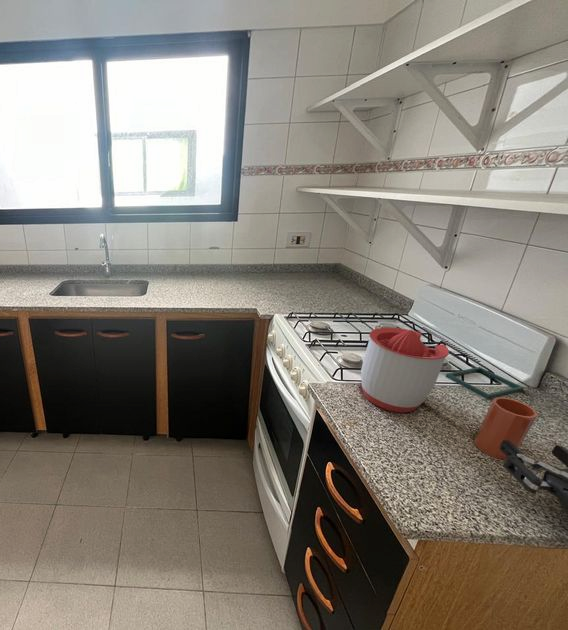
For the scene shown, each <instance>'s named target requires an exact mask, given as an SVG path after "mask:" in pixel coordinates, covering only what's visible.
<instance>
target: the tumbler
mask: <svg viewBox="0 0 568 630" xmlns="http://www.w3.org/2000/svg"><path fill="white" fill-rule="evenodd" d="M537 417H538V412H537V411H536V409H534V408H533V407H532V406H529V405H528V404H526V403H524V402H521V401H520V400H517V399H513V398H509V397H503V396H499V397H495V398H493V400H492V402H491V404H490V406H489V408H488V410H487V412H486V414H485V416H484V418H483V420H482V422H481V425H480V426H479V428H478V431H477V433H476V435H475V437H474V439H473V444H474V446H476V448H477V449H479V450H480V451H481V452H483V453H484V454H486V455H488V456H490V457H492V458H495V459H498V460H502V461H506V460H507V456H506V455H505V454H504V453H503V452H502V451H501V450H500V445H501V443H502V441H503V440H509V441H510V442H511V443H512V444H514V445H515V446H516V447H517V448H518V449H519V450H520V448H521V446H522V444H523V442H524V441H525V438H526V437H527V435H528V433H529V432H530V430H531V428H532V426H533V425H534V422H535V421H536V419H537Z"/></svg>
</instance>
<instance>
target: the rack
mask: <svg viewBox="0 0 568 630" xmlns="http://www.w3.org/2000/svg"><path fill="white" fill-rule="evenodd" d="M478 372H479V373H481V374H483V375H484V376H485V375H486V376H487V377H490V378H491V379H494V380H496V381H498V382H500V383H502V384H505V385H507V386H508V387H510V388H507V389H503V390H498V391H494V392H490V393H488V392H485V391H483V390H482V389H480V388H478V387H476V386H474V385H472V384H470V383H468V382H467V381H464V380H462V378H461V379H460V378H459V377H460V376H464V375H469V374H475V373H478ZM445 378H446V379H448V380H450V381H453V382H454V383H457V384H458V385H460V386H461V387H464V388H466V389H467V390H469V391H471V392H473V393H475V394H477V395H479V396H481V397H483V398H484V399H486V400H491V399H494V398H498V397H503V396H508V395H512V394H515V393H519V392H523V391H524V389H525V387H524V386H521V385H520V384H517V383H515V382H513V381H511V380H508V379H507V378H504V377H502V376H500V375H498V374H495V373H494V372H492V371H489V370H488V369H485V368H483V367H481V366H477V367H472V368H467V369H463V370H458V371H452V372H448V373H446V374H445Z"/></svg>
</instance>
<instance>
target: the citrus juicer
mask: <svg viewBox="0 0 568 630" xmlns="http://www.w3.org/2000/svg"><path fill="white" fill-rule="evenodd" d="M422 335H423V334H422V332H419V331H415V330H413V329H406V328H400V327H377V328H375V329H372V330H371V331H369V339H368V343H367V346H366V350H365V353H364V357H363V360H362V365H361V369H360V370H361V372H360V378H361V379H360V380H361V383H360V385H361V391H362V394H363V396H364V397H365V398H366V399H367V400H368V401H369V402H371V404H373V405H375V406H377V407H379V408H382V409H384V410H386V411H388V412H394V413H403V414H404V413H410V412H413V411H415V410H416V409H418V408H419V407H420V406H422V404H423V402H425V400H426V399H427V398H428V397H429V395H430V394H431V392H433V390H434V387H435V385H436V383H437V381H438V377H439V375H440V373H441V370H442V367H443V365H444V363H445V360H446V357H448V356H449V354H450V349H449V348H448V347H447V346H446V345H445V344H444V343H442V344H438V345H435V346H434V348H429V347H428V346H426V345H425V344H423V342H422V340H421V339H422V338H421V337H422Z"/></svg>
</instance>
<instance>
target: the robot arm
mask: <svg viewBox="0 0 568 630" xmlns="http://www.w3.org/2000/svg"><path fill="white" fill-rule="evenodd" d="M500 450H501V451H502V452H503V453H504V454H505V455H506V456H507V460H505V461H504V463H503V465H502V467H503V468H504V469H505V470H506V471H507V473H509V474H510V475H511V476H512V477H513V478H514V479H515V480H516V481H517V482H518V483H520V484H521V485H522V487H524V488H525V490H527V491H528V492H529V493H532V494H536V493H537V492H538V491H547V492H548V493H550V494H551V495H552V496H554V497H556V498H557V500H558V501H559V504H560V507H561V509H562V511H563V512H564V513H565V514H566V515H567V516H568V449H567V448H566V447H564V446H563V445H558V444H557V445H555V446H554V447H553V449H552V451H551V454H552V456H554V457H555V458H556V459H557V460H559V462H561V463H562V464H563V465H564V466H565V467H567V468H561V467H556V466H551V465H550V464H547V463H546V462H543V461H541V460H534V459H532V458H530V457H528V456H526V455H525V454H524V453H523V452H522V451H521V450H520V448H519V449H518V448H517V447H516V446H515V445H514V444H512V443H511V442H510V441H509V440H503V441H502V443H501V445H500ZM525 463H526V464H527V465H529V466H531V468H530V467H527V466H526V464H525ZM540 470H544V471H545V472H544V473H543V474H542V475H543V476H540V475H539V472H540Z"/></svg>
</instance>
